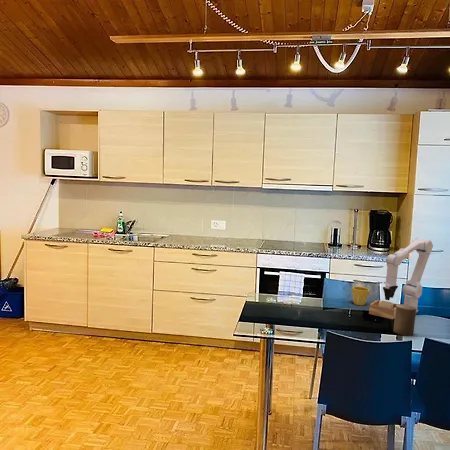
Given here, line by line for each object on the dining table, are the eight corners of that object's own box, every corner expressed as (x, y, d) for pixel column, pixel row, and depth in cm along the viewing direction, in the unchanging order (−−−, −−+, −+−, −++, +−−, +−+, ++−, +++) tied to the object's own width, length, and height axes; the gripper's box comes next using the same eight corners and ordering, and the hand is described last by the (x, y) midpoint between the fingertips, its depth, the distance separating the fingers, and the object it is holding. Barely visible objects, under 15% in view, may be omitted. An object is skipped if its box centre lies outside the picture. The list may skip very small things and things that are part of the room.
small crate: (380, 310, 274) (381, 300, 273) (392, 312, 270) (393, 302, 269) (377, 312, 270) (378, 301, 269) (390, 314, 266) (391, 304, 265)
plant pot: (369, 303, 290) (371, 288, 289) (365, 307, 281) (367, 291, 280) (353, 300, 295) (354, 285, 294) (348, 303, 286) (350, 288, 285)
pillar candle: (413, 337, 233) (417, 308, 231) (392, 333, 236) (396, 304, 235) (413, 331, 242) (416, 303, 240) (393, 328, 245) (396, 300, 244)
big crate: (375, 308, 279) (376, 300, 279) (399, 314, 272) (400, 305, 271) (368, 313, 268) (369, 304, 268) (392, 319, 261) (394, 309, 260)
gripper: (388, 272, 275) (385, 294, 277) (380, 276, 263) (378, 299, 265) (400, 274, 271) (398, 297, 273) (393, 278, 259) (391, 302, 261)
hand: (389, 298), depth 268 cm, fingers open, 7 cm apart
